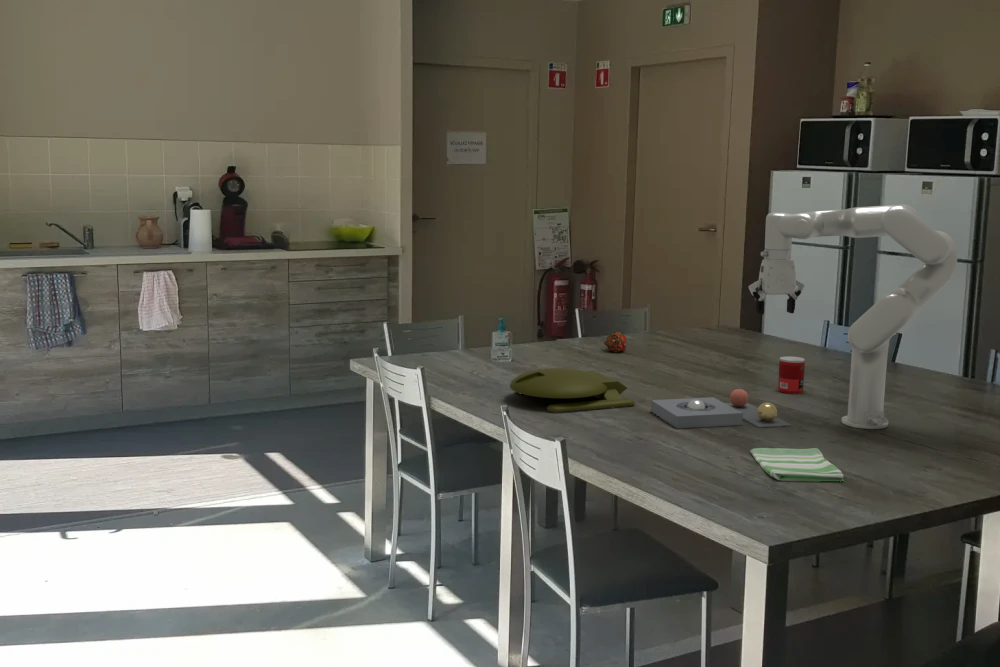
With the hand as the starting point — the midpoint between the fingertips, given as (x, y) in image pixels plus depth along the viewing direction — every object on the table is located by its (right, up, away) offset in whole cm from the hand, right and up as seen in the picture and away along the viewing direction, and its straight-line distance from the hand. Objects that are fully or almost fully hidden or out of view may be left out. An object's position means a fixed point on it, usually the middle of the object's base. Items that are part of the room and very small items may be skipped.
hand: (775, 313), depth 299 cm
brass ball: (-4, -29, -7) cm, 30 cm away
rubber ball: (-8, -26, +10) cm, 29 cm away
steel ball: (-24, -28, -3) cm, 37 cm away
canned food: (+14, -25, +34) cm, 44 cm away
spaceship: (-61, -27, +20) cm, 70 cm away
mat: (-6, -30, +2) cm, 31 cm away
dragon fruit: (-35, -13, +102) cm, 109 cm away
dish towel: (-8, -40, -49) cm, 64 cm away
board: (-24, -31, -2) cm, 39 cm away
